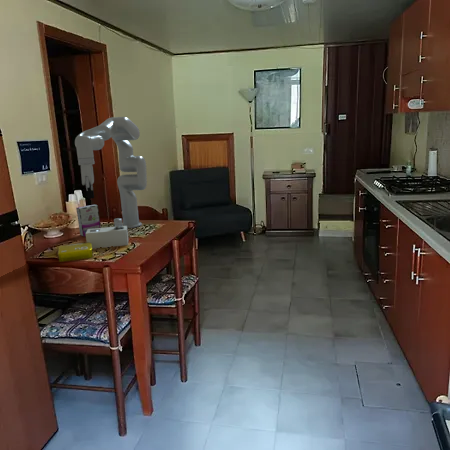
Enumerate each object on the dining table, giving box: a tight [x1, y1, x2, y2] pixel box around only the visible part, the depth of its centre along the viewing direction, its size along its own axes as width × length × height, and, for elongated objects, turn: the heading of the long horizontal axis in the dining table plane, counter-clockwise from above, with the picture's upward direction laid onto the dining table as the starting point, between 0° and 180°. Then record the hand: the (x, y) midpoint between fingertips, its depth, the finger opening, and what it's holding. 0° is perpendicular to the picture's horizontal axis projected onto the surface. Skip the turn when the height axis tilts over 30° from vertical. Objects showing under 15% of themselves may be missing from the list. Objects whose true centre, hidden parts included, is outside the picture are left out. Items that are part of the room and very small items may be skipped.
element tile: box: [57, 242, 94, 263], centre depth 197 cm, size 15×15×5 cm
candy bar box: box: [75, 204, 102, 237], centre depth 237 cm, size 11×5×16 cm, turn 131°
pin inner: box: [113, 217, 123, 230], centre depth 213 cm, size 4×4×6 cm
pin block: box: [85, 226, 129, 249], centre depth 214 cm, size 10×20×8 cm, turn 101°
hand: (90, 198), depth 208 cm, fingers closed
